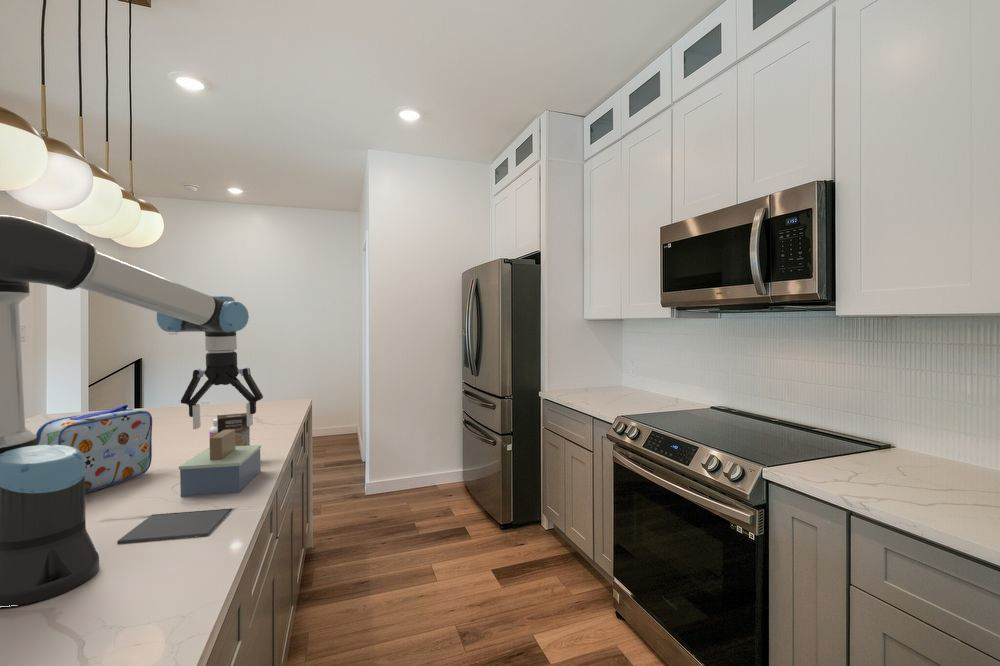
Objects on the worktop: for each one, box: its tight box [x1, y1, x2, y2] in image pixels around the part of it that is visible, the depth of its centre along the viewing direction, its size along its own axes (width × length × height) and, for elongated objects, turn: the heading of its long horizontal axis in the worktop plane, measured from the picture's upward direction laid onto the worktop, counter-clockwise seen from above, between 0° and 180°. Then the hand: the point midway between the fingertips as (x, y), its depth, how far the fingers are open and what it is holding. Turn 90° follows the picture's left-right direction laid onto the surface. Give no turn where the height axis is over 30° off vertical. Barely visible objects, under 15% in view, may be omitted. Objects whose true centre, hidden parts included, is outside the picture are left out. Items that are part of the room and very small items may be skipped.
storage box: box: [179, 448, 261, 498], centre depth 130 cm, size 18×14×8 cm
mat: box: [116, 507, 234, 545], centre depth 108 cm, size 22×17×1 cm
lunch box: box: [35, 404, 153, 494], centre depth 131 cm, size 28×10×22 cm, turn 168°
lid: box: [178, 429, 262, 470], centre depth 130 cm, size 18×14×8 cm
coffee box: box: [216, 412, 251, 446], centre depth 149 cm, size 9×6×16 cm
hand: (223, 426), depth 130 cm, fingers open, 13 cm apart
